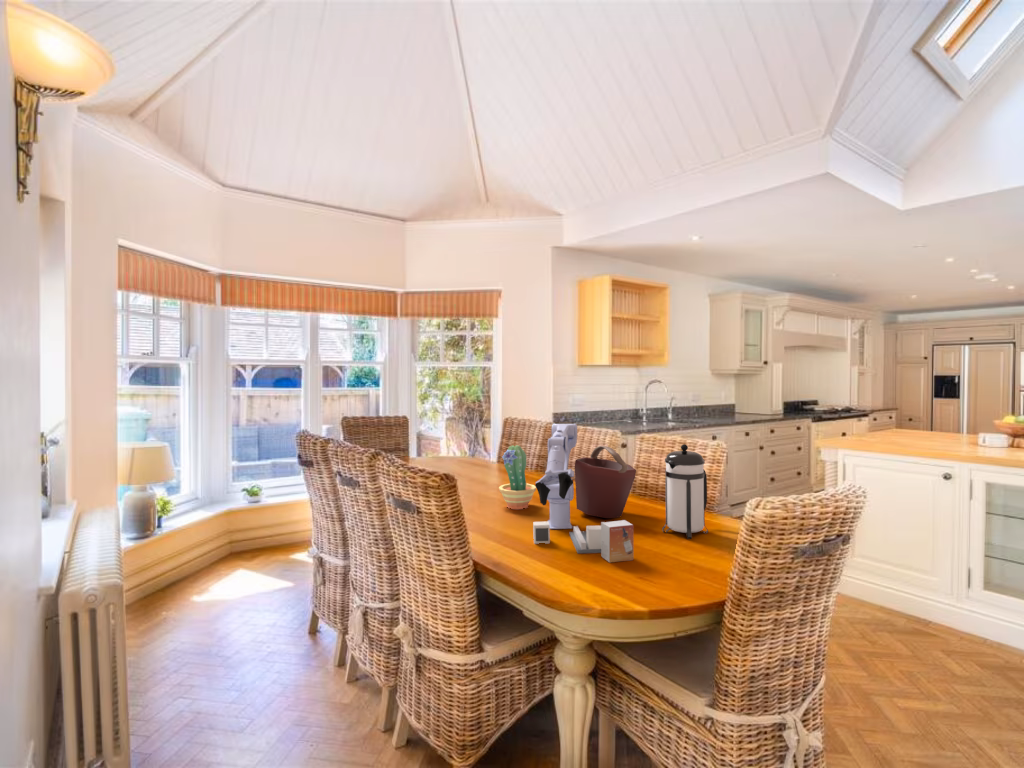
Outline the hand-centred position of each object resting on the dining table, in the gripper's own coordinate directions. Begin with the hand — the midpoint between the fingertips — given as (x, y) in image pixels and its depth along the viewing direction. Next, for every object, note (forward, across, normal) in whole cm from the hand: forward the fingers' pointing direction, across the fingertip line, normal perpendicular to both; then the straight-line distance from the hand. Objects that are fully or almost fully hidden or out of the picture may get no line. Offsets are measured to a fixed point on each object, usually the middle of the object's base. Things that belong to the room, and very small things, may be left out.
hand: (552, 500), depth 167 cm
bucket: (-18, -7, +36) cm, 41 cm away
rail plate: (+7, +3, +18) cm, 19 cm away
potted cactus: (-24, -38, +24) cm, 51 cm away
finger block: (+7, -10, +9) cm, 15 cm away
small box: (+16, +14, +15) cm, 26 cm away
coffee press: (-5, +24, +44) cm, 50 cm away
